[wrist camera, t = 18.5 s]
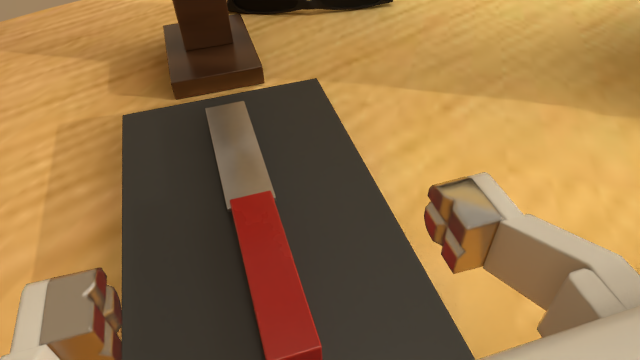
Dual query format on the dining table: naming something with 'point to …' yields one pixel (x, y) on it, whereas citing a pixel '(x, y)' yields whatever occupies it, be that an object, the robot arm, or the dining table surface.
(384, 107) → the dining table surface
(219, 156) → the knife
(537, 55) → the dining table surface
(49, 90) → the dining table surface
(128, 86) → the dining table surface
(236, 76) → the wooden post stand
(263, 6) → the sunglasses
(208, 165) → the cutting board
